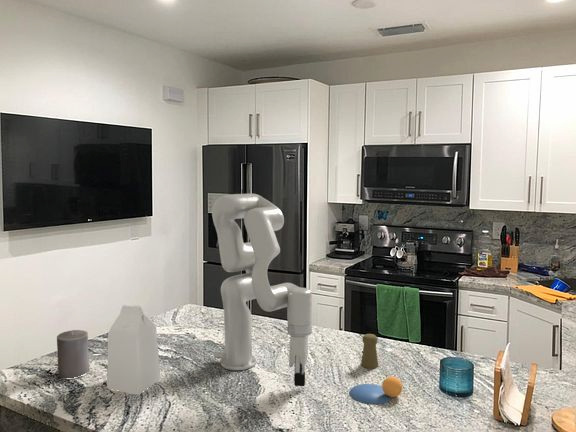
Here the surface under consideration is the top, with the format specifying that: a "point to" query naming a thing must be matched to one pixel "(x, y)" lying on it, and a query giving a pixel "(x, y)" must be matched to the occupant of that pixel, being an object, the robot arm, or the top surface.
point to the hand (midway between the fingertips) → (299, 384)
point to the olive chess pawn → (369, 352)
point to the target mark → (369, 394)
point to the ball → (392, 386)
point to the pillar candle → (72, 353)
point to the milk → (132, 352)
